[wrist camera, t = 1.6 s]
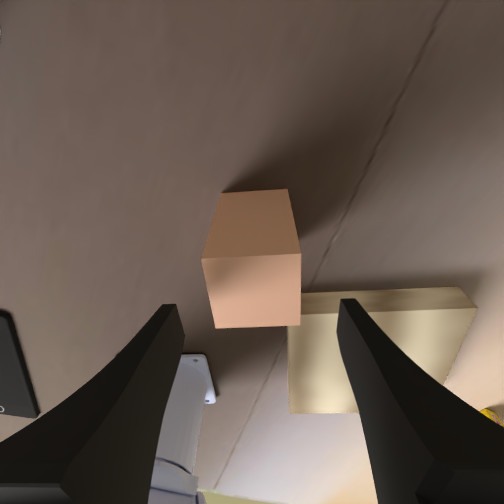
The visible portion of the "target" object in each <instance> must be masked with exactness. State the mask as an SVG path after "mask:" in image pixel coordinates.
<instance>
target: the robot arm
mask: <svg viewBox="0 0 504 504" xmlns="http://www.w3.org/2000/svg"><path fill="white" fill-rule="evenodd" d="M336 333H337V339H338V344H339V349H340V353H341V357H342V360H343V363H344V366H345V369H346V373H347V376H348V379H349V382H350V385H351V388H352V391H353V394H354V397H355V400H356V403H357V407H358V410H359V414H360V418H361V422H362V427H363V431H364V435H365V440H366V445H367V449H368V454H369V459H370V464H371V468H372V474H373V479H374V484H375V489H376V494H377V499H378V504H504V427H503V426H501V425H499V424H498V423H496V422H494V421H493V420H491V419H490V418H488V417H487V416H485V415H484V414H482V413H481V412H479V411H478V410H476V409H475V408H473V407H472V406H470V405H469V404H467V403H466V402H464V401H463V400H461V399H460V398H459V397H457V396H456V395H455V394H453V393H452V392H451V391H449V390H448V389H447V388H445V387H444V386H443V385H441V384H440V383H439V382H437V381H436V380H435V379H434V378H432V377H431V376H430V375H429V374H428V373H426V372H425V371H424V370H423V369H422V368H421V367H419V366H418V365H417V364H416V363H415V362H414V361H413V360H412V359H410V358H409V357H408V356H407V355H406V354H405V353H404V352H403V351H402V350H401V349H400V348H399V347H398V346H397V345H396V344H395V343H394V342H393V341H392V340H391V339H390V338H389V337H388V336H387V334H386V333H385V332H384V331H383V330H382V329H381V328H380V327H379V326H378V325H377V324H376V322H375V321H374V320H373V319H372V318H371V317H370V315H369V314H368V313H367V312H366V311H365V309H364V308H363V307H362V306H361V304H360V303H359V302H358V301H357V300H356V299H355V298H344V299H340V306H339V314H338V321H337V329H336ZM184 338H185V334H184V331H183V327H182V324H181V320H180V317H179V313H178V309H177V306H176V304H162V306H161V307H160V308H159V309H158V310H157V311H156V312H155V314H154V315H153V316H152V317H151V318H150V319H149V321H148V322H147V323H146V324H145V325H144V326H143V328H142V329H141V330H140V331H139V332H138V333H137V334H136V335H135V337H134V338H133V339H132V340H131V341H130V342H129V343H128V344H127V345H126V346H125V347H124V348H123V349H122V350H121V351H120V353H119V354H118V355H117V356H116V357H114V358H113V360H112V361H111V362H110V363H108V364H107V365H106V366H105V367H104V368H103V369H102V370H101V371H100V372H99V373H98V374H96V375H95V376H94V377H93V378H92V379H91V380H89V381H88V382H87V383H86V384H85V385H83V386H82V387H81V388H79V389H78V390H77V391H76V392H74V393H73V394H72V395H71V396H69V397H68V398H67V399H65V400H64V401H63V402H61V403H60V404H59V405H57V406H56V407H54V408H53V409H52V410H50V411H49V412H47V413H46V414H44V415H43V416H41V417H40V418H39V419H37V420H36V421H34V422H33V423H31V424H29V425H28V426H26V427H25V428H23V429H21V430H20V431H18V432H17V433H15V434H13V435H12V436H10V437H9V438H7V439H5V440H4V441H2V442H0V504H207V503H206V501H205V497H204V495H203V493H201V492H199V491H197V487H198V480H199V478H198V477H196V476H193V472H194V466H195V460H196V454H197V448H198V442H199V436H200V430H201V423H202V417H203V411H204V405H205V403H215V402H216V395H215V391H214V387H213V383H212V379H211V375H210V371H209V367H208V363H207V359H206V356H205V355H203V354H189V355H182V350H183V344H184Z"/></svg>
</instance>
